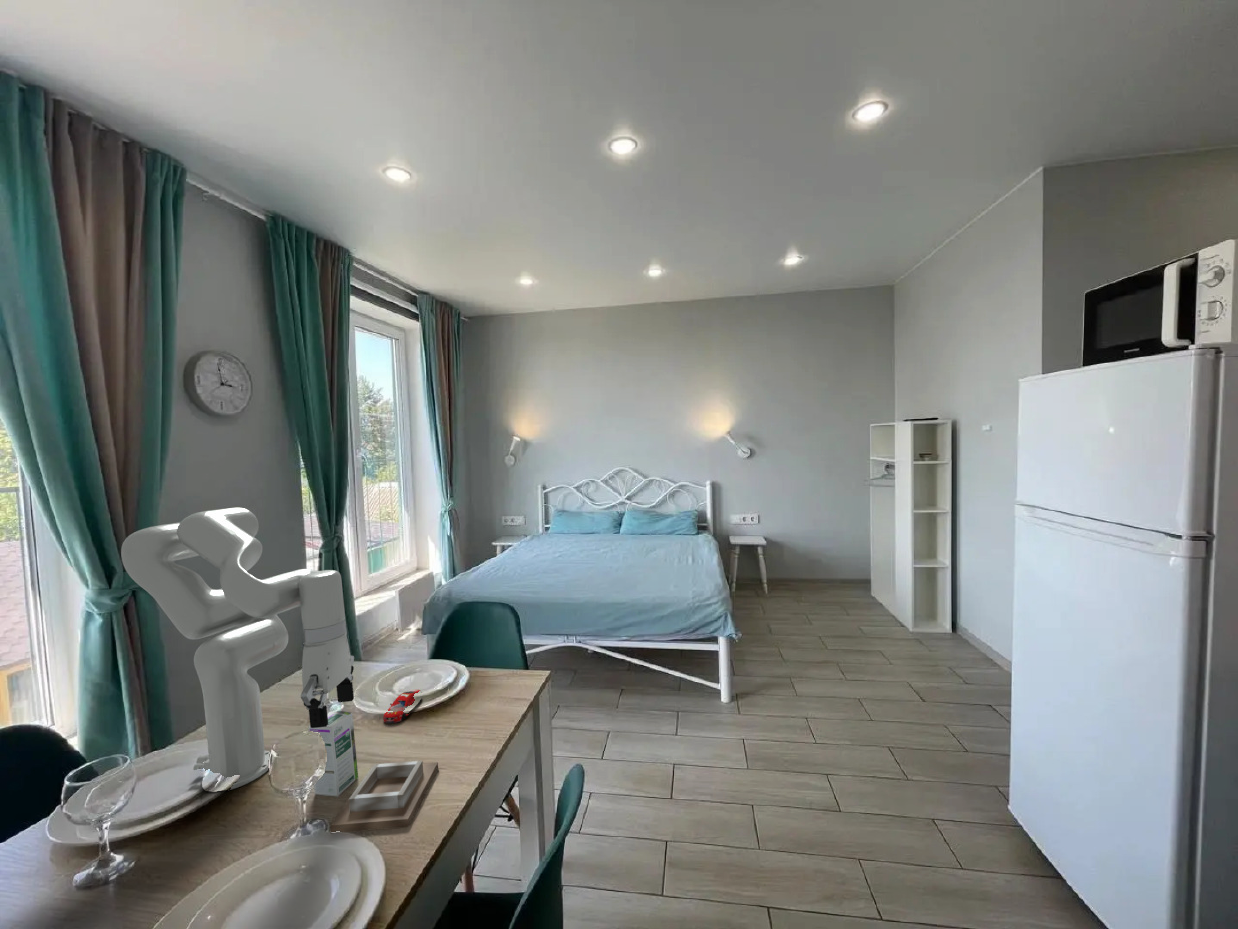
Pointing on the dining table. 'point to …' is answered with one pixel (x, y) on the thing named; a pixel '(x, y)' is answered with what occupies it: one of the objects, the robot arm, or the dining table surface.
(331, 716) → the syrup box
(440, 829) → the dining table surface
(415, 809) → the socket board
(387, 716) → the race car
